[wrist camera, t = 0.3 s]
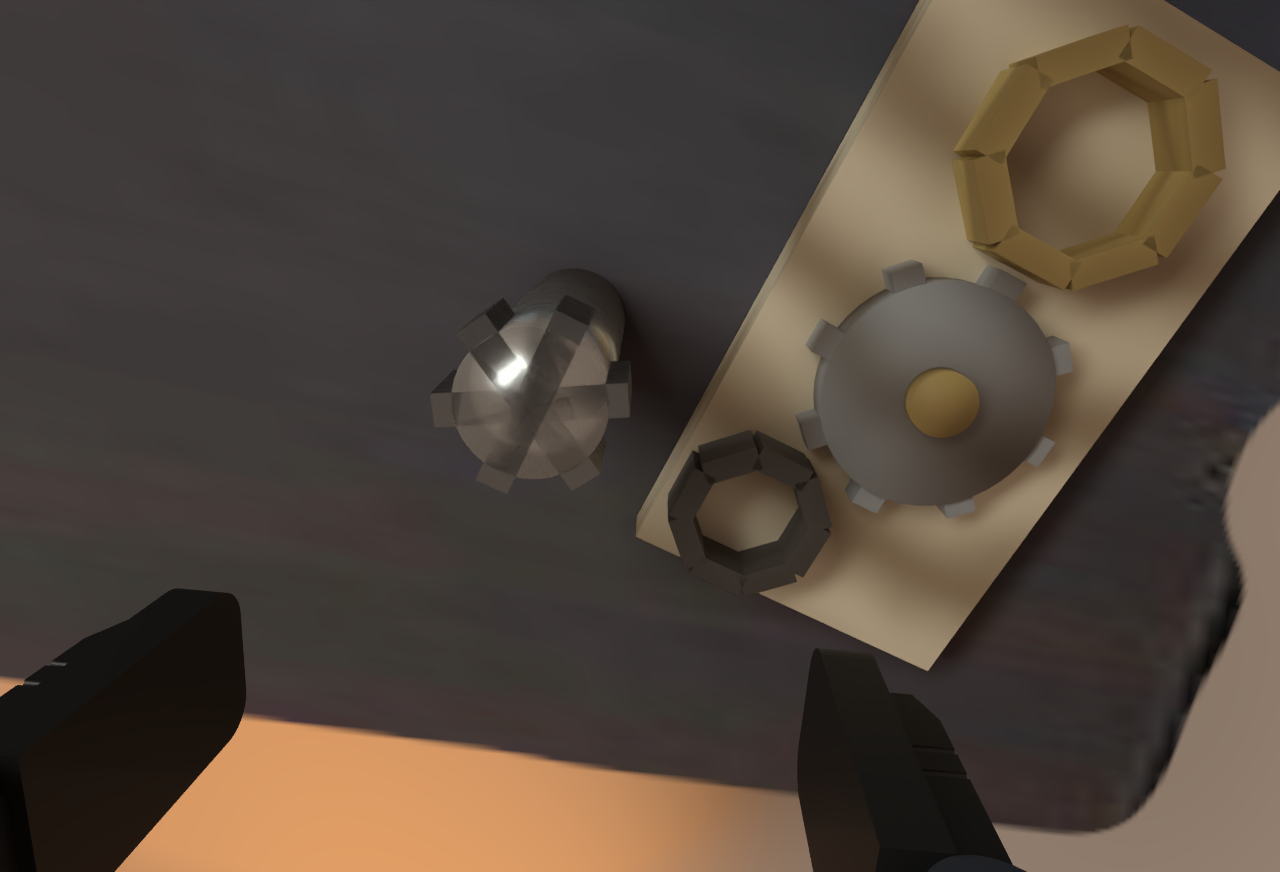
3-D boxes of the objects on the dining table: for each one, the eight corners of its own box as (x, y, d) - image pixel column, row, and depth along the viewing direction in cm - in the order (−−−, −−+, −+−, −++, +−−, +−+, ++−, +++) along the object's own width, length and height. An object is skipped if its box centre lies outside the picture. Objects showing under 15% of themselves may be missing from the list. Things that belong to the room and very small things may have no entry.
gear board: (967, -87, 27) (1022, -132, 23) (1293, 112, 29) (1396, 103, 25) (636, 516, 34) (634, 562, 30) (913, 644, 36) (945, 703, 32)
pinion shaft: (546, 233, 30) (481, 273, 19) (657, 290, 31) (659, 360, 20) (494, 348, 32) (406, 447, 20) (601, 399, 32) (573, 524, 21)
